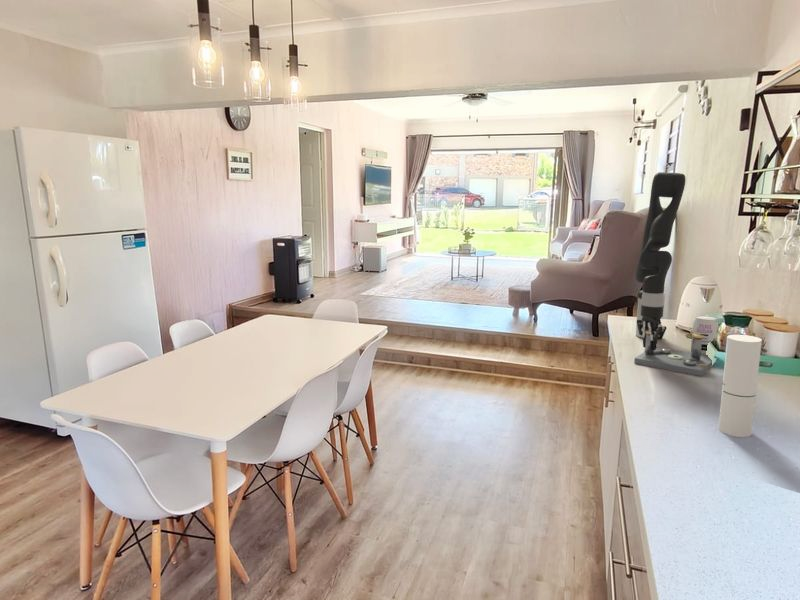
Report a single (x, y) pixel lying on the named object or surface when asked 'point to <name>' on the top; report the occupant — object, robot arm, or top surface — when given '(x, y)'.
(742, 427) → the cylindrical container
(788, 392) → the top surface
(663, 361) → the board
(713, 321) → the supplement can
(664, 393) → the top surface
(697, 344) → the crank
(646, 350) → the crank
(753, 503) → the top surface
